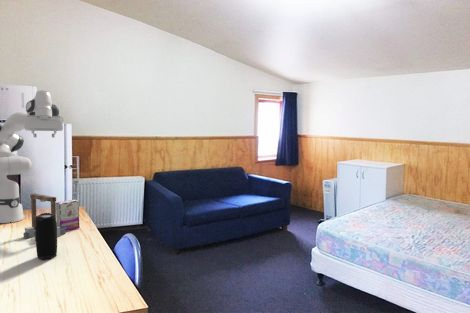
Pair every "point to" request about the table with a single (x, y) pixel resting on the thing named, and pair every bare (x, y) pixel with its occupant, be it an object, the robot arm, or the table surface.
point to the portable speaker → (46, 236)
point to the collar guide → (32, 233)
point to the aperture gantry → (42, 199)
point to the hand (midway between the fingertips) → (44, 137)
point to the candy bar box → (67, 214)
